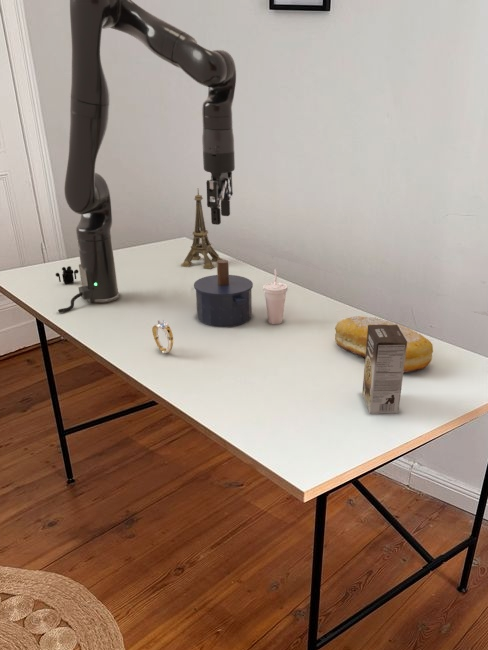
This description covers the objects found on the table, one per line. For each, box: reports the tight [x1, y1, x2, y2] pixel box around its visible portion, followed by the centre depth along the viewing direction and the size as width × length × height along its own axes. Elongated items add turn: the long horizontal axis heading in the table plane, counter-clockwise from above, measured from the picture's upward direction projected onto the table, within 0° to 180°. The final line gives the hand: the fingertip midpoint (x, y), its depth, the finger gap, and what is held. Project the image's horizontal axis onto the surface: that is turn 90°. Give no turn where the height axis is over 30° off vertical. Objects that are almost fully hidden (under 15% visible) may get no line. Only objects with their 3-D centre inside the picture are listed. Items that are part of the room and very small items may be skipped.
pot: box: [195, 289, 253, 328], centre depth 184 cm, size 15×20×8 cm
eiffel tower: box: [180, 189, 223, 270], centre depth 219 cm, size 11×11×25 cm
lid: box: [193, 259, 254, 296], centre depth 180 cm, size 16×16×7 cm
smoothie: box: [262, 268, 289, 325], centre depth 180 cm, size 6×6×14 cm
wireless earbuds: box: [55, 265, 80, 285], centre depth 206 cm, size 7×2×5 cm, turn 124°
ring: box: [151, 319, 174, 354], centre depth 164 cm, size 7×3×8 cm, turn 37°
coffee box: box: [361, 324, 407, 415], centre depth 142 cm, size 9×6×16 cm
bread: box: [334, 315, 434, 373], centre depth 164 cm, size 13×26×8 cm, turn 44°
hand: (221, 219), depth 172 cm, fingers open, 8 cm apart
